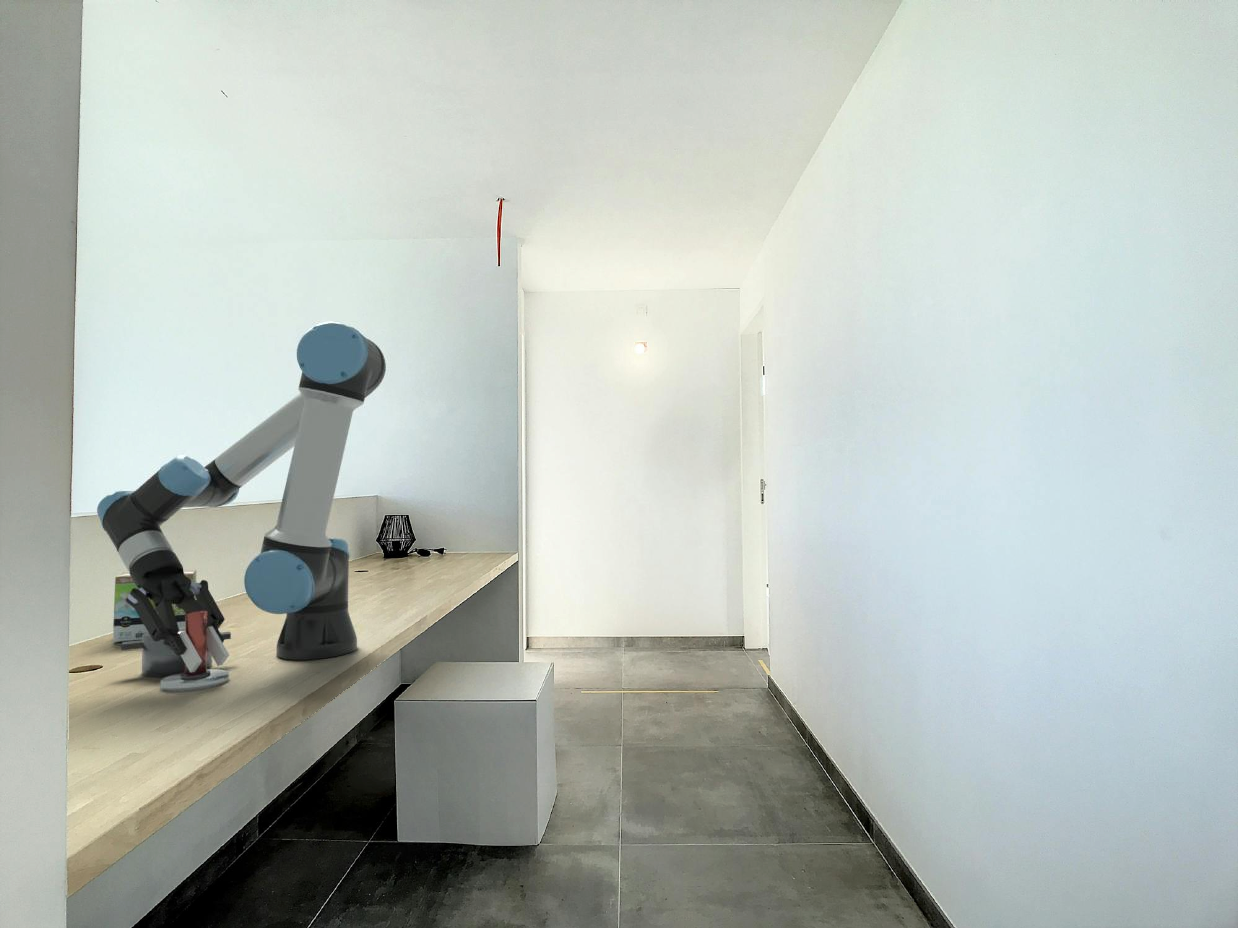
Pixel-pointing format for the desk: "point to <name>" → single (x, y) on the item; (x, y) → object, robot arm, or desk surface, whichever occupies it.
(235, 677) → the desk surface
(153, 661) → the pot
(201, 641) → the lid
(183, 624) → the tea box
